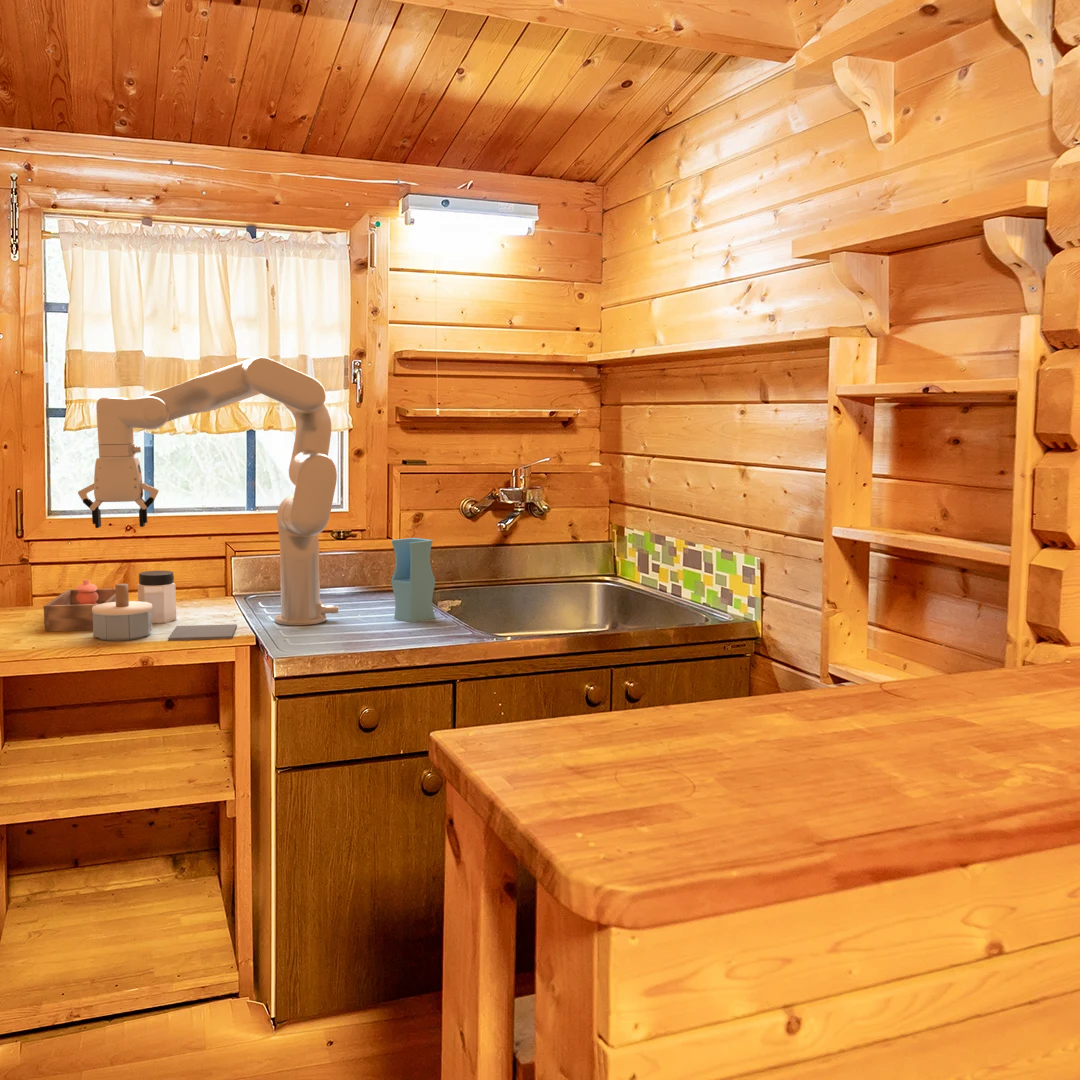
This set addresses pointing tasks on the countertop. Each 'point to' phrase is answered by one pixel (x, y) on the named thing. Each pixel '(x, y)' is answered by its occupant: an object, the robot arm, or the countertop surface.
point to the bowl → (122, 626)
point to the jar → (158, 594)
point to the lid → (121, 604)
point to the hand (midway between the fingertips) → (120, 526)
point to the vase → (413, 580)
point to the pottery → (87, 593)
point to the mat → (203, 632)
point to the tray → (73, 611)
